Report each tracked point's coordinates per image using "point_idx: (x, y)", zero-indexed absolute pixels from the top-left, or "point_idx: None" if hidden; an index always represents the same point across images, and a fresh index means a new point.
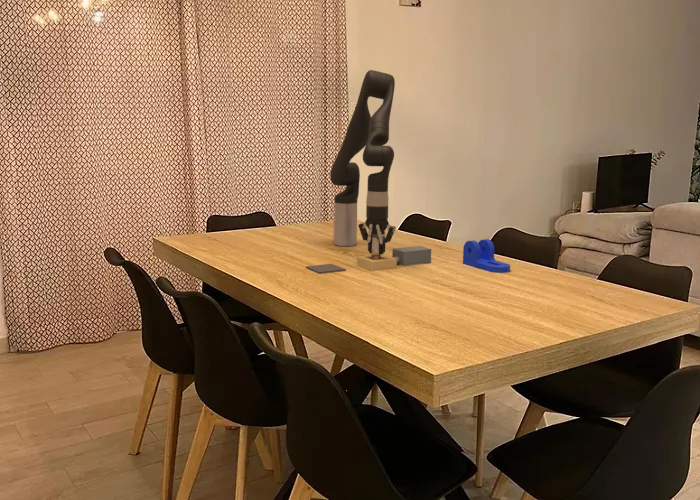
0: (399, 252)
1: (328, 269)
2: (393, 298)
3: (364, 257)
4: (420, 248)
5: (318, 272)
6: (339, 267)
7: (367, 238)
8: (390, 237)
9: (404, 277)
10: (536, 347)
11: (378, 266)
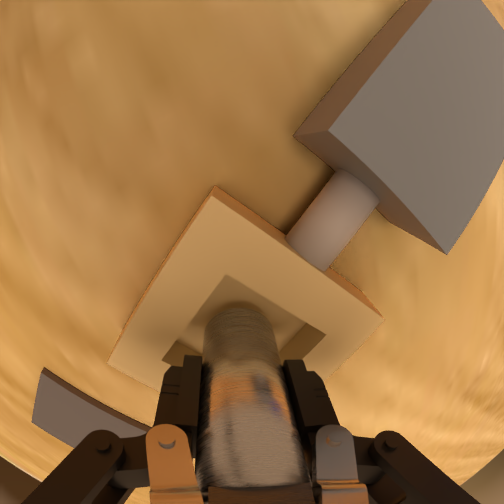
0: (405, 210)
1: None
2: None
3: (157, 364)
4: (499, 68)
5: None
6: (116, 422)
7: (147, 481)
8: (412, 467)
9: (402, 409)
10: (472, 475)
11: None
